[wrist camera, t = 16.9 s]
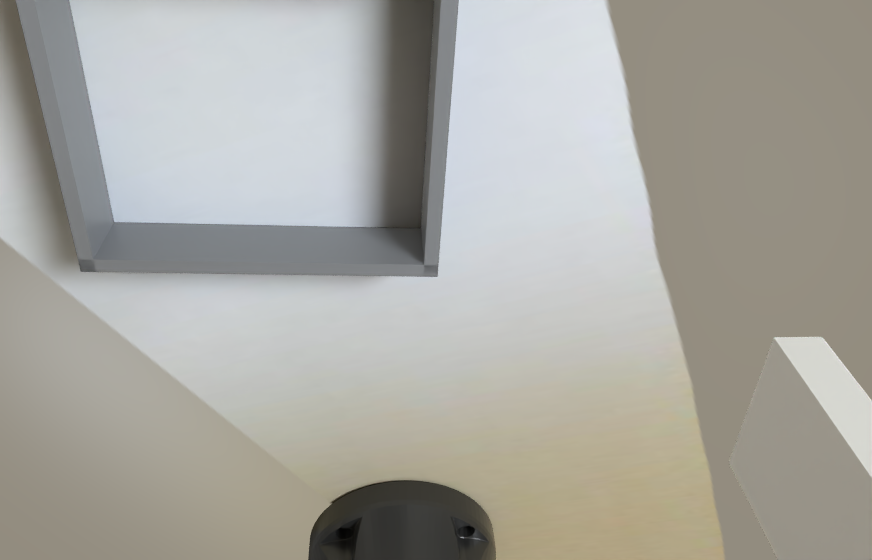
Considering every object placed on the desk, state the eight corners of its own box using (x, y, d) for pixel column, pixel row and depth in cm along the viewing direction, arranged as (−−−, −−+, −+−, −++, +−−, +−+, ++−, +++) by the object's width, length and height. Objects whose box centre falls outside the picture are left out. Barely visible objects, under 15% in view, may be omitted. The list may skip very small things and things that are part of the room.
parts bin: (433, 240, 47) (437, 276, 44) (102, 233, 45) (80, 271, 42) (454, -71, 37) (462, -54, 34) (31, -95, 35) (-4, -79, 32)
